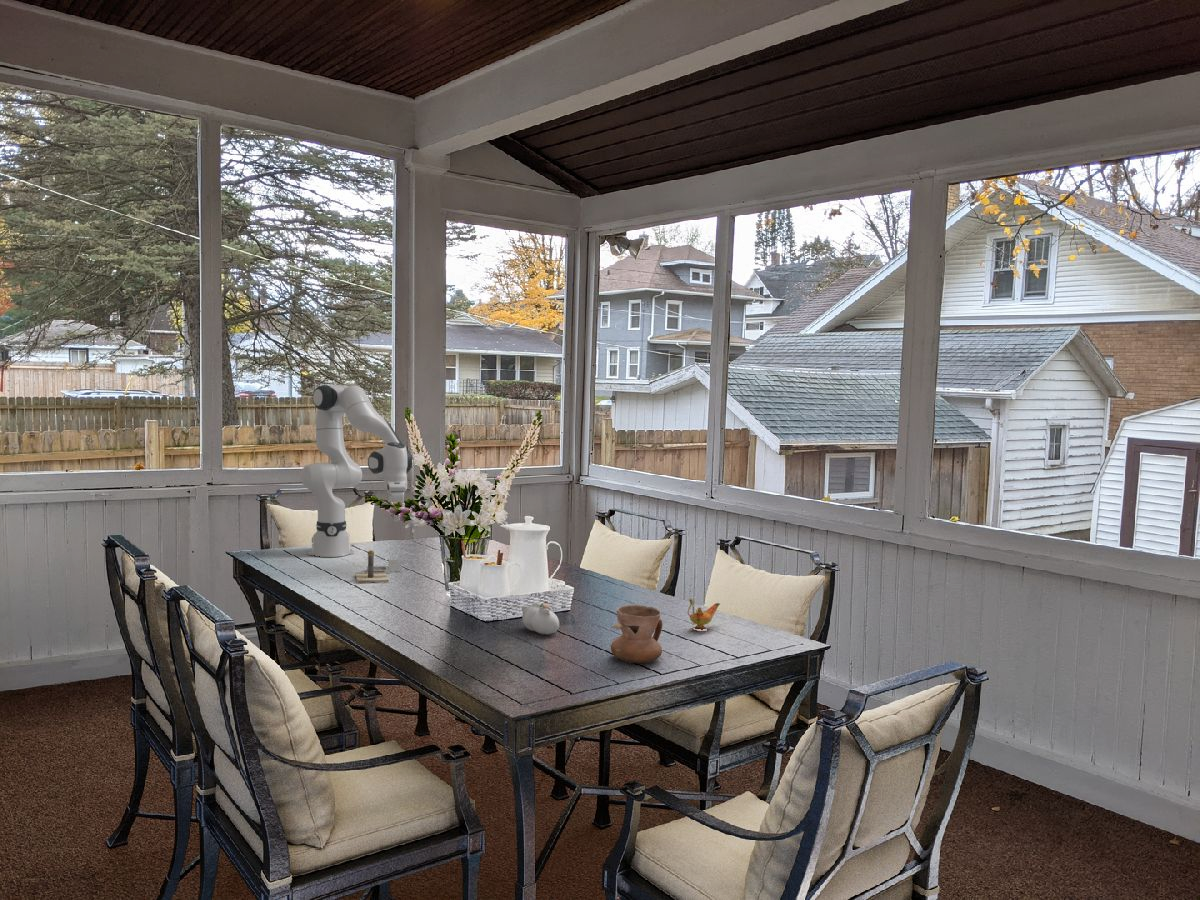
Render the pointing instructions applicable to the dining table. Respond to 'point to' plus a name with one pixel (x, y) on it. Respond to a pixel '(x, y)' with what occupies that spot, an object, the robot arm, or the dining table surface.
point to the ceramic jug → (637, 634)
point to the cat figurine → (540, 618)
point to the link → (393, 566)
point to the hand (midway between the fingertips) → (395, 519)
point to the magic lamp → (702, 615)
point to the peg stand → (371, 572)
